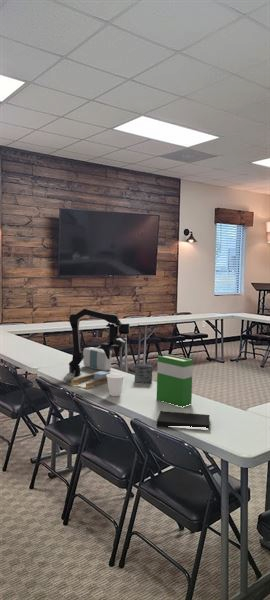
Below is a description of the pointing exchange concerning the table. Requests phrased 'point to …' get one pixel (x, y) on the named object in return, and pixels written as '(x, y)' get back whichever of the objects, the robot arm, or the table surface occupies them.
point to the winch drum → (69, 377)
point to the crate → (100, 375)
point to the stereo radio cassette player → (96, 359)
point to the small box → (143, 373)
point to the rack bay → (89, 384)
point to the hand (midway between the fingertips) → (112, 357)
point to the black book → (182, 419)
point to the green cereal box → (174, 380)
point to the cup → (115, 383)
